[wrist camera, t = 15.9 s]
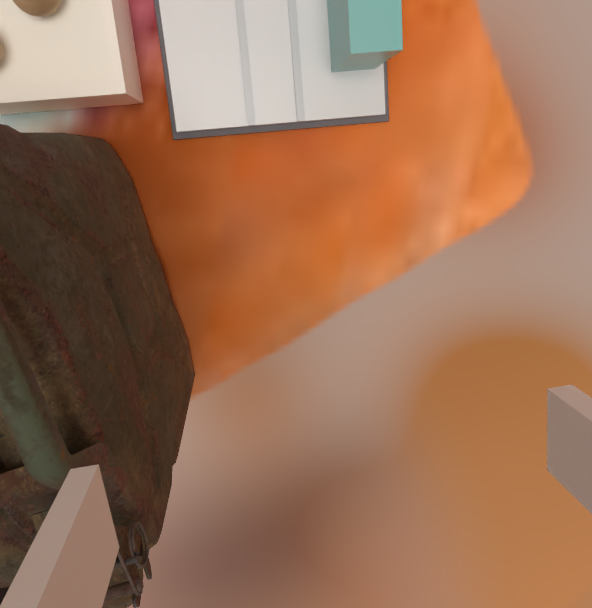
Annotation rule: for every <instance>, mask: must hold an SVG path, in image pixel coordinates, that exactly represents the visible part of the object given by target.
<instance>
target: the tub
mask: <svg viewBox="0 0 592 608" xmlns="http://www.w3.org/2000/svg"><path fill="white" fill-rule="evenodd" d="M0 42H1V45H2V52H3V53H2V59H1V61H0V115H4V114H16V113H28V112H41V111H53V110H66V109H78V108H90V107H103V106H115V105H128V104H140V103H144V102H143V95H142V89H141V82H140V76H139V69H138V62H137V56H136V49H135V42H134V36H133V29H132V22H131V16H130V9H129V2H128V0H61V3H60V5H59V7H58V8H57V10H56V11H55V12H53V13H52V14H50V15H47V16H43V17H38V16H33V15H30V14H27V13H26V12H24V11H22V10H21V9H20V8H19V7H18V6H17V5H16V4H15V3H14V2H13V0H0Z"/></svg>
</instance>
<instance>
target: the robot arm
mask: <svg viewBox="0 0 592 608" xmlns="http://www.w3.org/2000/svg"><path fill="white" fill-rule="evenodd" d="M547 405H548V406H547V470H548V471H549V472H550V473H551V474H552V475H553V476H554V477H555V478H556V479H557V480H558V481H559V482H560V483H561V484H562V485H563V486H564V487H565V488H566V489H567V490H568V491H569V492H570V493H571V494H572V495H573V496H574V497H575V498H576V499H577V500H578V501H579V502H580V503H581V504H582V505H583V506H584V507H585V508H586V509H587V510H588V511H589V512H590V513H591V514H592V398H591V397H590V396H588V395H587V394H585V393H584V392H582V391H581V390H579V389H578V388H576V387H575V386H573V385H567V386H561V387H555V388H550V389H548V391H547ZM118 550H119V544H118V540H117V536H116V532H115V528H114V524H113V520H112V516H111V512H110V508H109V504H108V500H107V496H106V492H105V488H104V484H103V480H102V476H101V472H100V468H99V464H98V465H92V466H86V467H80V468H74V469H70V471H69V473H68V475H67V477H66V479H65V481H64V483H63V485H62V487H61V489H60V490H59V492H58V494H57V496H56V498H55V500H54V502H53V504H52V506H51V508H50V510H49V512H48V514H47V516H46V518H45V520H44V522H43V523H42V525H41V527H40V529H39V531H38V533H37V535H36V537H35V539H34V541H33V543H32V545H31V547H30V549H29V551H28V553H27V555H26V556H25V558H24V560H23V562H22V564H21V566H20V568H19V570H18V572H17V574H16V576H15V578H14V580H13V582H12V584H11V586H10V587H4V588H0V608H102V606H103V603H104V599H105V596H106V592H107V589H108V585H109V582H110V578H111V575H112V571H113V568H114V564H115V561H116V557H117V554H118Z"/></svg>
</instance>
